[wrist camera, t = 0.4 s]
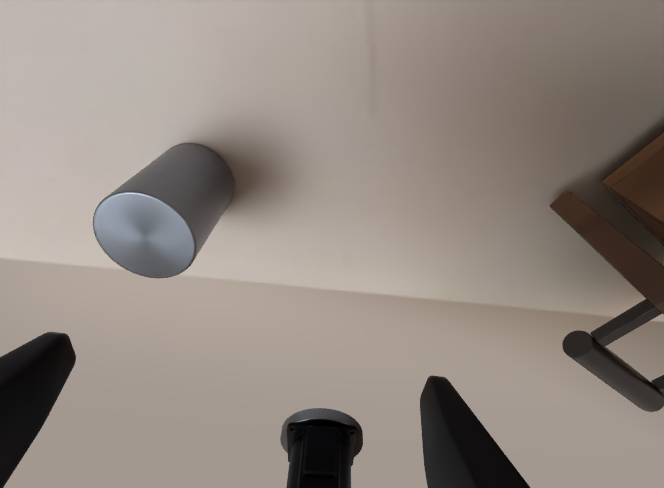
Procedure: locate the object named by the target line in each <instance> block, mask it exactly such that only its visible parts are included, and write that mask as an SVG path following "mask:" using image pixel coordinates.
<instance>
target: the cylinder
mask: <svg viewBox="0 0 664 488" xmlns="http://www.w3.org/2000/svg"><path fill="white" fill-rule="evenodd" d="M233 194H234V179H233V176H232V173H231V171H230V169H229V167H228V165H227V164H226V163H225V161H224V160H223V159H222V158H221V157H220V156H219V155H217V154H216V153H215V152H213V151H212V150H210V149H208V148H206V147H203V146H200V145H196V144H180V145H177V146H174V147H172V148H170V149H169V150H167V151H166V152H165V153H164V154H162V155H161V156H160V157H158V158H157V159H156V160H154V161H153V162H152V163H150V164H149V165H148V166H146V167H145V168H144V169H143V170H141V171H140V172H139V173H137V174H136V175H135V176H133V177H132V178H131V179H129V180H128V181H127V182H125V183H124V184H123V185H122V186H120V187H119V188H118V189H116V190H115V191H114V192H112V193H111V194H110V195H108V196H107V197H106V198H104V199H103V200H102V201H101V202H100V203H99V205H98V206H97V208H96V210H95V213H94V217H93V228H94V233H95V236H96V238H97V241H98V243H99V244H100V246H101V247H102V249H103V250H104V252H105V253H106V254H107V255H108V256H109V257H110V258H111V259H112V260H113V261H114V262H116V263H117V264H118V265H120V266H121V267H123V268H125V269H126V270H128V271H130V272H133V273H135V274H138V275H141V276H145V277H150V278H168V277H172V276H175V275H178V274H180V273H182V272H183V271H185V270H186V269H187V268H188V267H189V266H190V265H191V264H192V262H193V261H194V259H195V257H196V256H197V254H198V253H199V251H200V249H201V248H202V246H203V245H204V243H205V241H206V240H207V238H208V237H209V235H210V233H211V232H212V230H213V229H214V227H215V225H216V224H217V222H218V221H219V219H220V217H221V216H222V214H223V212H224V211H225V209H226V208H227V206H228V204H229V203H230V201H231V199H232V197H233Z"/></svg>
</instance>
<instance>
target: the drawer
mask: <svg viewBox="0 0 664 488" xmlns="http://www.w3.org/2000/svg"><path fill="white" fill-rule="evenodd" d="M602 183H603V184H604V185H605V186H606V187H607V189H608V190H609V191H610V192H611V193H612V194H613V195H614V196H615V197H616V198H617V199H618V200H619V201H620V202H621V203H622V204H623V205H624V206H625V207H626V208H627V209H628V210H629V211H630V212H631V213H632V214H633V215H634V216H635V217H636V218H637V219H638V220H639V221H640V222H641V223H642V224H643V225H644V226H645V227H646V228H647V229H648V230H649V231H650V232H651V233H652V234H653V235H654V236H655V237H656V238H657V239H658V240H659V241H660V242H661V243H662V244H663V245H664V133H662V134H661V135H660V136H659V137H657V138H656V139H655V140H654V141H652V142H651V143H650V144H649V145H647V146H646V147H645V148H643V149H642V150H641V151H640V152H638V153H637V154H636V155H635V156H633V157H632V158H631V159H630V160H628V161H627V162H626V163H625V164H623V165H622V166H621V167H619V168H618V169H617V170H616V171H614V172H613V173H612V174H611V175H609V176H608V177H607V178H606V179H604V180H603V181H602ZM550 207H551V208H552V209H553V210H554V211H555V212H556V213H557V214H558V215H559V216H560V217H561V218H562V219H563V220H564V221H565V222H567V223H568V224H569V225H570V226H571V227H572V228H573V229H574V230H575V231H576V232H577V233H578V234H579V235H580V236H581V237H582V238H583V239H584V240H585V241H587V242H588V243H589V244H590V245H591V246H592V247H593V248H594V249H595V250H596V251H597V252H598V253H599V254H600V255H601V256H602V257H603V258H604V259H605V260H606V261H608V262H609V263H610V264H611V265H612V266H613V267H614V268H615V269H616V270H617V271H618V272H619V273H620V274H621V275H622V276H623V277H624V278H625V279H626V280H627V281H629V282H630V283H631V284H632V285H633V286H634V287H635V288H636V289H637V290H638V291H639V292H640V293H641V294H642V295H643V296H644V297H645V298H646V299H645V300H644V301H642V302H640V303H639V304H637V305H635V306H634V307H632V308H630V309H629V310H627V311H625V312H624V313H622V314H620V315H619V316H617V317H616V318H614V319H612V320H611V321H609V322H607V323H606V324H604V325H602V326H601V327H599V328H597V329H596V330H594V331H592V332H591V335H592V336H591V335H590V334H588V333H587V332H584V331H573V332H571V333H569V334H568V335H567V336H566V337H565V338H564V340H563V350H564V352H565V353H566V354H567V355H568V356H570V357H571V358H572V359H574V360H575V361H576V362H578V363H579V364H580V365H582V366H583V367H585V368H586V369H587V370H589V371H590V372H591V373H593V374H594V375H596V376H597V377H598V378H600V379H601V380H602V381H604V382H605V383H606V384H608V385H609V386H611V387H612V388H613V389H615V390H616V391H617V392H619V393H620V394H621V395H623V396H624V397H626V398H627V399H628V400H630V401H631V402H632V403H634V404H635V405H636V406H638V407H639V408H641V409H643V410H645V411H650V412H653V411H658V410H660V409H661V408H662V407H663V406H664V375H663V376H661V377H658V378H656V379H654V380H652V383H653V384H652V383H651V382H650V381H648V380H647V379H646V378H645V377H643V376H642V375H641V374H640V373H638V372H637V371H636V370H634V369H633V368H632V367H630V366H629V365H628V364H627V363H625V362H624V361H623V360H622V359H620V358H619V357H618V356H617V355H615V354H614V353H613V352H611V351H610V350H609V349H608V348H606V347H605V346H606V345H608V344H610V343H612V342H613V341H615V340H617V339H619V338H620V337H622V336H624V335H625V334H627V333H629V332H631V331H632V330H634V329H636V328H638V327H639V326H641V325H643V324H645V323H646V322H648V321H650V320H652V319H653V318H655V317H657V316H658V315H660V314H662V313H663V314H664V266H662V265H661V264H660V263H659V262H657V261H656V260H655V259H654V258H652V257H651V256H650V255H649V254H647V253H646V252H645V251H644V250H642V249H641V248H640V247H639V246H637V245H636V244H635V243H634V242H632V241H631V240H630V239H629V238H627V237H626V236H625V235H624V234H622V233H621V232H620V231H619V230H617V229H616V228H615V227H614V226H612V225H611V224H610V223H609V222H607V221H606V220H605V219H604V218H602V217H601V216H600V215H599V214H597V213H596V212H595V211H594V210H592V209H591V208H590V207H589V206H587V205H586V204H585V203H584V202H582V201H581V200H580V199H578V198H577V197H576V196H575V195H573V194H572V193H571V192H570V191H567V192H565V193H564V194H563V195H562V196H560V197H559V198H558V199H557V200H555V201H554V202H553V203H552V204H551V205H550Z"/></svg>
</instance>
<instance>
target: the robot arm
mask: <svg viewBox="0 0 664 488" xmlns="http://www.w3.org/2000/svg"><path fill="white" fill-rule="evenodd" d="M75 360H76V356H75V352H74V350H73V347H72V344H71V341H70V338H69V336H68V335H67V334H65V333H57V332H47V333H45V334H43V335H41V336H39V337H37V338H35V339H33V340H32V341H30V342H28V343H26V344H24V345H22V346H20V347H19V348H17V349H15V350H13V351H11V352H9V353H8V354H6V355H4V356H2V357H0V488H3V487H4V485H5V484H6V482H7V480H8V479H9V478H10V476H11V474H12V473H13V471H14V470H15V468H16V467H17V465H18V464H19V462H20V461H21V459H22V457H23V456H24V454H25V453H26V451H27V450H28V448H29V447H30V445H31V443H32V442H33V440H34V439H35V437H36V436H37V434H38V432H39V431H40V429H41V428H42V426H43V424H44V422H45V420H46V419H47V417H48V415H49V413H50V411H51V409H52V407H53V405H54V403H55V402H56V400H57V398H58V396H59V394H60V392H61V390H62V388H63V386H64V384H65V382H66V380H67V378H68V376H69V374H70V372H71V371H72V368H73V367H74V364H75ZM420 411H421V425H422V439H423V454H424V466H425V472H426V479H427V485H428V488H530V487H529V485H528V484H527V483H526V482H525V480H524V479H523V478H522V476H521V475H520V474H519V472H518V471H517V470H516V468H515V467H514V466H513V464H512V463H511V462H510V461H509V459H508V458H507V457H506V455H505V454H504V453H503V451H502V450H501V449H500V447H499V446H498V445H497V443H496V442H495V441H494V440H493V438H492V437H491V436H490V434H489V433H488V432H487V430H486V429H485V428H484V426H483V425H482V424H481V423H480V421H479V420H478V419H477V417H476V416H475V415H474V413H473V412H472V411H471V409H470V408H469V407H468V406H467V404H466V403H465V402H464V400H463V399H462V398H461V396H460V395H459V394H458V392H457V391H456V390H455V389H454V387H453V386H452V385H451V383H450V382H449V381H448V380H447V379H446V378H445V377H439V376H430V377H429V378H428V379H427V382H426V384H425V387H424V389H423V392H422V394H421V398H420ZM356 437H357V428H356V427H355V426H349V425H332V424H315V423H298V422H290V423H288V426H287V439H288V461H289V462H290V464H289V472H288V480H287V488H351V466H352V465H353V459H354V452H355V445H356Z"/></svg>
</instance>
